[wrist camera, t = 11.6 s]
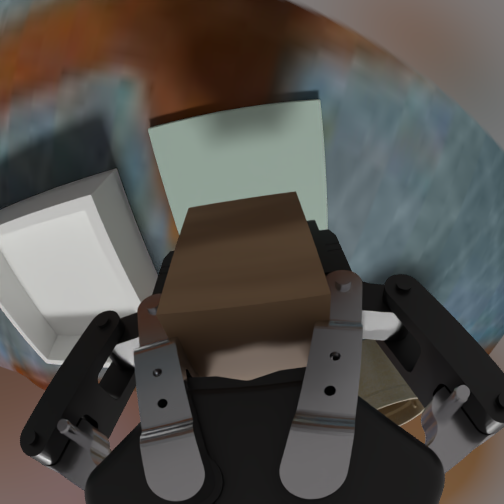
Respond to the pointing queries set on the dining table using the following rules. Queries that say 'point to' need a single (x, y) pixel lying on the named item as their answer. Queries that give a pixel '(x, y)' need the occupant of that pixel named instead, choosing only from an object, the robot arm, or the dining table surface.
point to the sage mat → (244, 157)
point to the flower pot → (386, 386)
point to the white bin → (71, 262)
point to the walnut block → (245, 287)
